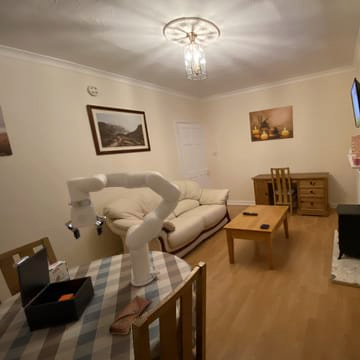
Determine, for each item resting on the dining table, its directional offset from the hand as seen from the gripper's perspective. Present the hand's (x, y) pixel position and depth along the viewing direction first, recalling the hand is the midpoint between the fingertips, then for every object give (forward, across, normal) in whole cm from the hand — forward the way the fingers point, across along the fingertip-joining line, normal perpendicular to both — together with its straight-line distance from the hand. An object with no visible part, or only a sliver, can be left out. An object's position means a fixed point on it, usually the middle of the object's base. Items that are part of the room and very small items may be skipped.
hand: (89, 236), depth 103 cm
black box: (+31, -12, -10) cm, 34 cm away
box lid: (+10, -19, -10) cm, 23 cm away
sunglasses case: (+31, +20, -24) cm, 44 cm away
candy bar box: (+31, -21, +4) cm, 37 cm away
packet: (+30, -12, -10) cm, 33 cm away
